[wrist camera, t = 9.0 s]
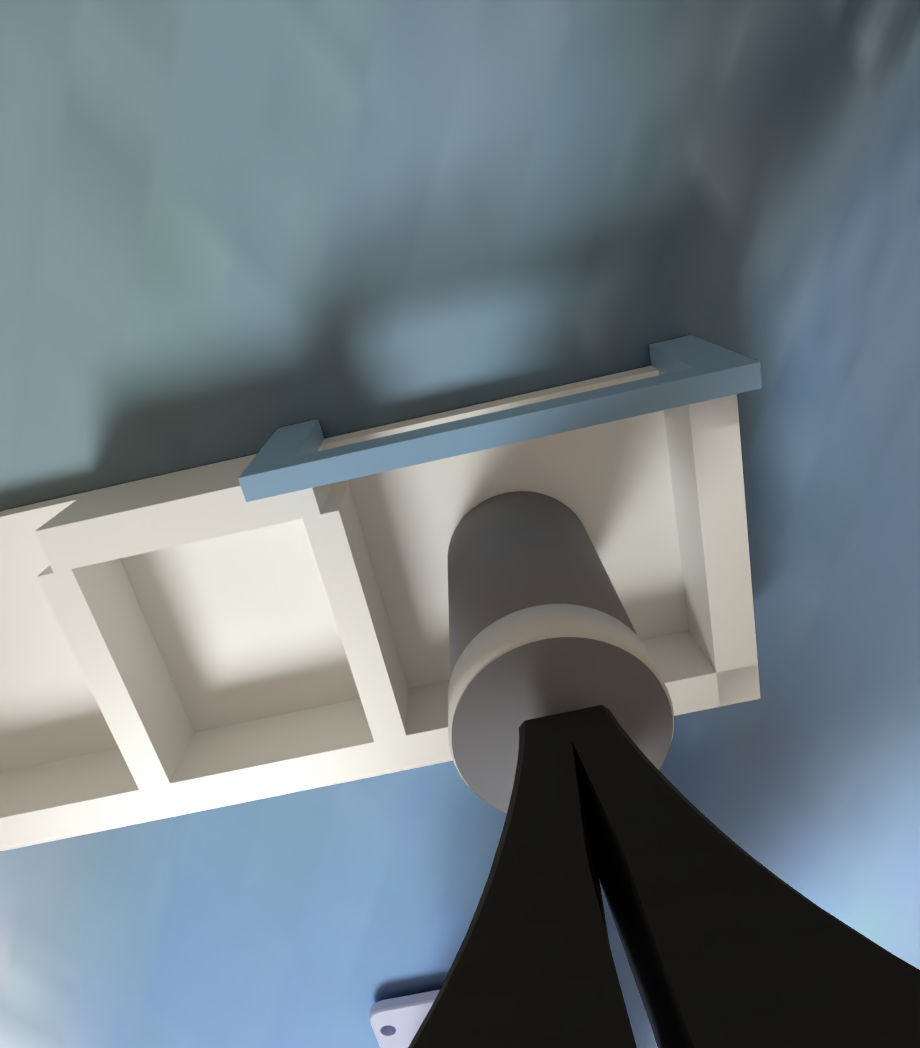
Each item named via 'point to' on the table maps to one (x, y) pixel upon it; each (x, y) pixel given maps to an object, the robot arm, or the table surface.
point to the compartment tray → (347, 593)
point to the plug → (538, 639)
